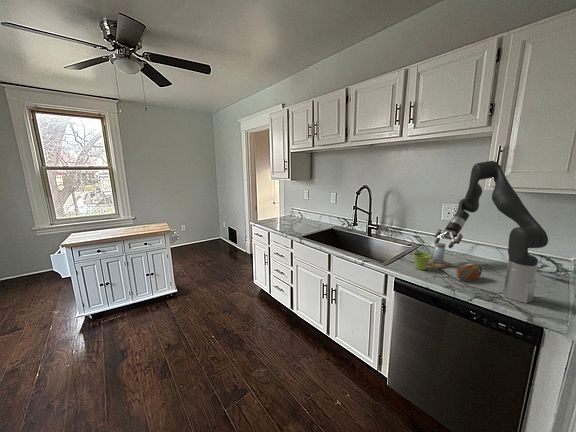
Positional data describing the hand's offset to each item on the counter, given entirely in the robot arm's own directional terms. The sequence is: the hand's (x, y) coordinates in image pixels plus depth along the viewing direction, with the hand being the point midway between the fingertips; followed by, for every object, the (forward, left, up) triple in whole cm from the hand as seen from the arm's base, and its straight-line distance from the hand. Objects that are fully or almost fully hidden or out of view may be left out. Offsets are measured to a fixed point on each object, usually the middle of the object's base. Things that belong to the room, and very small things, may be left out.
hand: (442, 245), depth 148 cm
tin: (-20, +8, -12) cm, 25 cm away
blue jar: (0, +3, -11) cm, 11 cm away
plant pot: (+1, +17, -12) cm, 21 cm away
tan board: (0, +3, -12) cm, 12 cm away
